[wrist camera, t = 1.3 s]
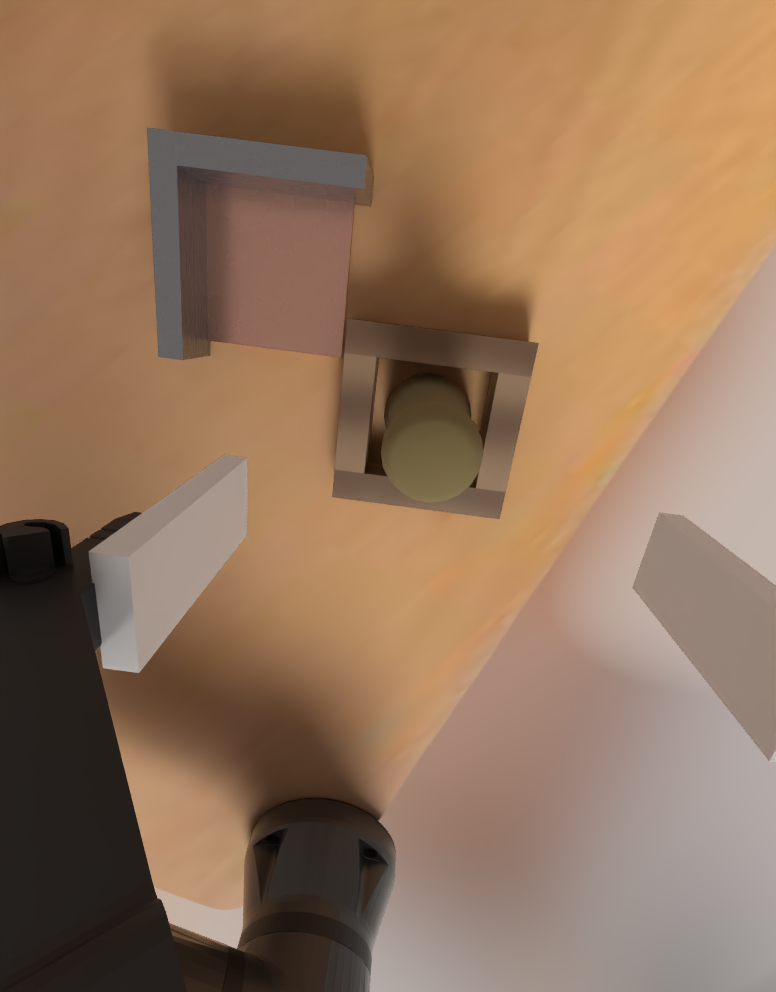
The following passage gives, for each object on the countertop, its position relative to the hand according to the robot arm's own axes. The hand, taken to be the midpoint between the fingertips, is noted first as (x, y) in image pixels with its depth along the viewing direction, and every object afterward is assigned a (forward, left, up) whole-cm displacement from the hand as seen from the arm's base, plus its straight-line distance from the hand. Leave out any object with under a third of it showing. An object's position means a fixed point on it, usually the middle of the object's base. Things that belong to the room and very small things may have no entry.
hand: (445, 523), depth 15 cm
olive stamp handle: (0, 0, -19) cm, 19 cm away
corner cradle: (+8, +11, -19) cm, 23 cm away
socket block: (0, 0, -19) cm, 19 cm away
